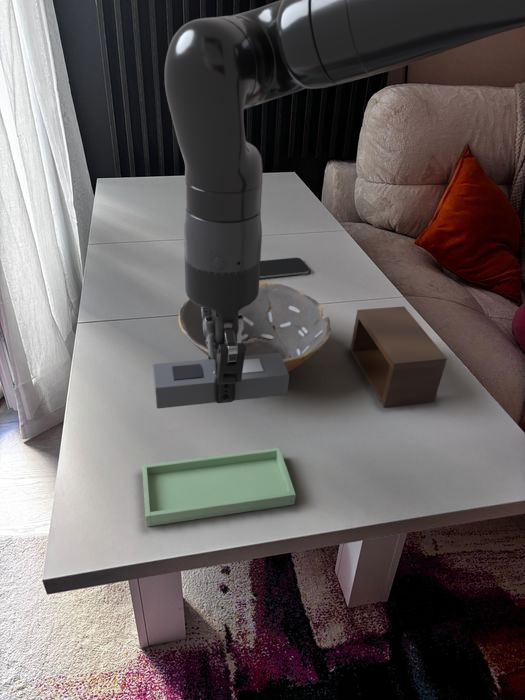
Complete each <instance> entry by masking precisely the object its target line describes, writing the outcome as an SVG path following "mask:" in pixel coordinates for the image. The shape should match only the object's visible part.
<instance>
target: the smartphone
mask: <svg viewBox="0 0 525 700" xmlns="http://www.w3.org/2000/svg"><path fill="white" fill-rule="evenodd" d="M310 270H311V269H310V267H308V265H306V263H305V262H304V260H303V259H302V258H300V257H288V258H276V259H267V260H260V278H259V279H267V278H276V277H284V276H285V277H287V276H295V275H296V276H297V275H305V274H309V273H310Z"/></svg>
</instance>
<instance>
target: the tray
mask: <svg viewBox="0 0 525 700" xmlns="http://www.w3.org/2000/svg"><path fill="white" fill-rule="evenodd" d="M141 468H142V470H141V471H142V482H143V485H142V486H143V498H144V499H143V500H144V501H143V502H144V515H145V525H146V527H153V526H159V525H161V526H162V525H165V524H166V525H167V524H172V523H179V522H181V523H182V522H186V521H187V522H188V521H195V520H200V519H207V518H213V517H214V518H215V517H219V516H227V515H232V514H233V515H234V514H239V513H240V514H241V513H247V512H253V511H260V510H268V509H274V508H280V507H286V506H294V505H295V503H296V496H297V495H296V491H295V488H294V485H293V482H292V480H291V477H290V473H289V471H288V468H287V464H286V461H285V460H284V456H283V453H282V450H281V447H272V448H265V449H258V450H257V449H256V450H250V451H242V452H241V451H240V452H233V453H226V454H224V453H223V454H217V455H210V456H200V457H195V458H186V459H178V460H170V461H161V462H153V463H147V464H141Z"/></svg>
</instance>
